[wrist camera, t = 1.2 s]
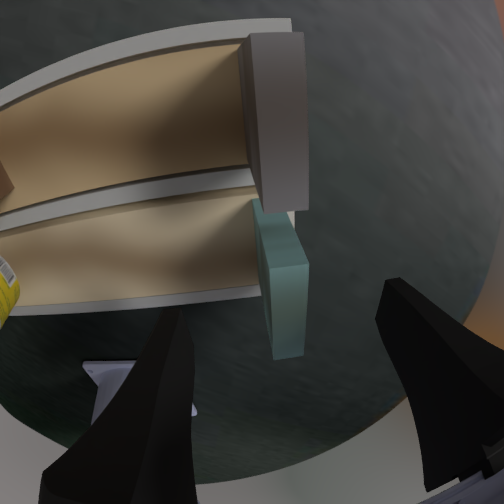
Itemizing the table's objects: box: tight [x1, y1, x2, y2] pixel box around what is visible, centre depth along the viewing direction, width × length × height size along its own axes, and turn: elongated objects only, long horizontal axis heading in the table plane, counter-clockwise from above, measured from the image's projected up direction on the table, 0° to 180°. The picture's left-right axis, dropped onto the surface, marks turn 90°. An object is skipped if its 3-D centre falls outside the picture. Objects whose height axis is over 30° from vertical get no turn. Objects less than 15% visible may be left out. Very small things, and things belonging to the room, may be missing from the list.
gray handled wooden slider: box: [0, 32, 309, 214], centre depth 9 cm, size 5×22×6 cm, turn 94°
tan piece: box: [0, 185, 309, 360], centre depth 12 cm, size 5×22×6 cm, turn 94°
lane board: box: [0, 18, 294, 316], centre depth 13 cm, size 14×24×2 cm, turn 94°
